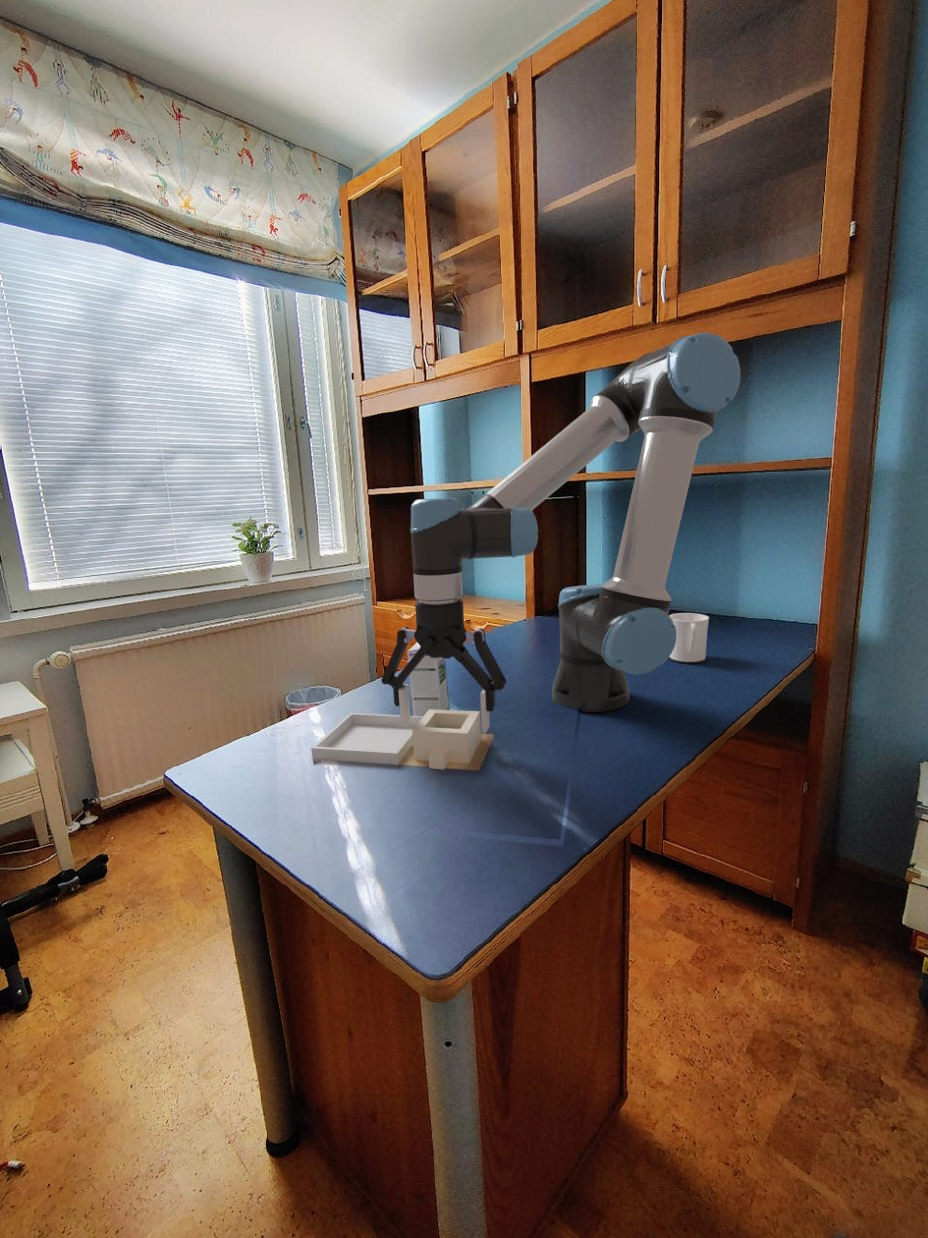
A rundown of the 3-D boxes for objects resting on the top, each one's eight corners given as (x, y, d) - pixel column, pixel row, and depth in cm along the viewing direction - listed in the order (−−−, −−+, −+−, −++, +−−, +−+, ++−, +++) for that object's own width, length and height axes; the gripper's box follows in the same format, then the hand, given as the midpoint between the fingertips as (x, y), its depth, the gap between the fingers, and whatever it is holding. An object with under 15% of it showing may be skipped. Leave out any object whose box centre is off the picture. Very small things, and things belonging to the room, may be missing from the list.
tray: (427, 729, 105) (426, 716, 104) (398, 768, 90) (397, 753, 90) (351, 725, 108) (350, 713, 108) (312, 762, 94) (311, 748, 94)
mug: (663, 654, 141) (664, 613, 139) (701, 653, 140) (703, 612, 138) (673, 667, 131) (674, 624, 129) (714, 667, 130) (716, 623, 127)
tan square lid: (495, 737, 100) (494, 718, 99) (478, 773, 87) (477, 752, 86) (423, 733, 103) (422, 715, 102) (398, 768, 90) (396, 747, 90)
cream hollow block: (481, 738, 98) (479, 711, 97) (465, 770, 87) (463, 740, 86) (431, 736, 100) (429, 709, 99) (409, 767, 89) (406, 737, 88)
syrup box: (443, 724, 106) (438, 649, 103) (412, 723, 107) (406, 649, 104) (450, 713, 112) (445, 641, 109) (420, 712, 113) (415, 641, 110)
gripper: (522, 595, 90) (523, 722, 94) (373, 594, 96) (382, 713, 100) (514, 604, 83) (516, 741, 87) (355, 603, 89) (365, 730, 93)
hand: (445, 726), depth 94 cm, fingers open, 13 cm apart
